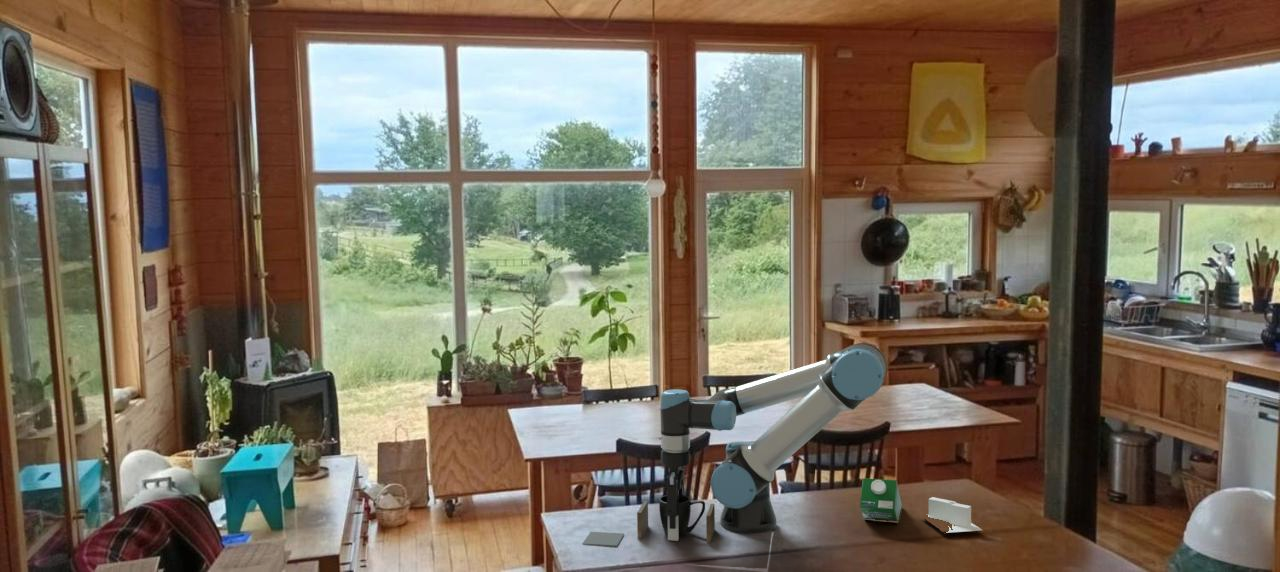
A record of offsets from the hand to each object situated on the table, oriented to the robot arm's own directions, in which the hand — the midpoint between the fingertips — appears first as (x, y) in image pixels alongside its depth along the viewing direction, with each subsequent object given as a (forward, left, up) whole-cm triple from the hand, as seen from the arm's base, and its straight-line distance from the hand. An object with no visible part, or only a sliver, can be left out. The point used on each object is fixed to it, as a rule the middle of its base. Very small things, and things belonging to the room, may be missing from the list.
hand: (676, 533), depth 240 cm
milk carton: (-56, -36, -6) cm, 67 cm away
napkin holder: (-72, -21, -1) cm, 75 cm away
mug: (-2, 0, 0) cm, 2 cm away
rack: (0, 0, 0) cm, 0 cm away
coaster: (+18, +8, 0) cm, 19 cm away
